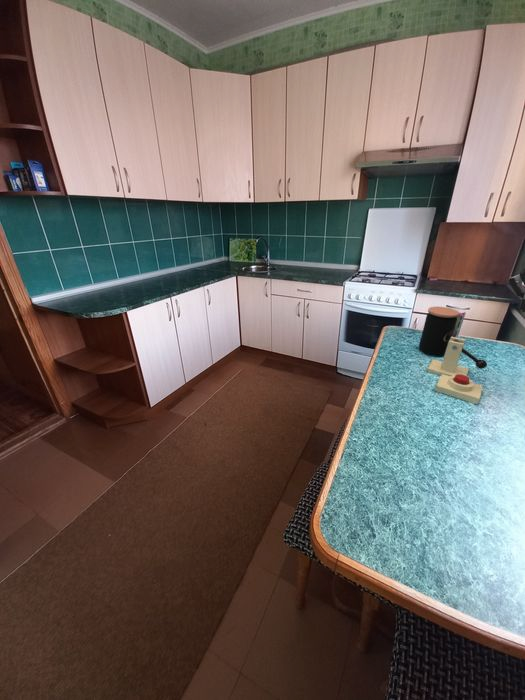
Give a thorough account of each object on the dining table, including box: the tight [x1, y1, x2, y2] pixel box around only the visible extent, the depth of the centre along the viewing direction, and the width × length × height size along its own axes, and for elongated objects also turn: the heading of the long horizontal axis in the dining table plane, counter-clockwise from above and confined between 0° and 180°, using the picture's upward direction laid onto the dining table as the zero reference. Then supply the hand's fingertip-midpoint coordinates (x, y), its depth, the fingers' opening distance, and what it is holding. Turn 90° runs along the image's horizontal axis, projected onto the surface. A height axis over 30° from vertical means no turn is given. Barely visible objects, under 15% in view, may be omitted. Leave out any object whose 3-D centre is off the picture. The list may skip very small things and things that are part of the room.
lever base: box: [426, 337, 470, 377], centre depth 105 cm, size 12×9×13 cm
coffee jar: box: [418, 306, 459, 357], centre depth 118 cm, size 11×11×18 cm
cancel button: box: [454, 374, 471, 385], centre depth 95 cm, size 4×4×2 cm
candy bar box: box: [436, 306, 466, 338], centre depth 123 cm, size 11×5×16 cm, turn 45°
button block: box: [434, 374, 484, 405], centre depth 96 cm, size 12×9×4 cm
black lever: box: [454, 339, 488, 370], centre depth 101 cm, size 13×3×3 cm, turn 52°
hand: (524, 311), depth 86 cm, fingers closed
